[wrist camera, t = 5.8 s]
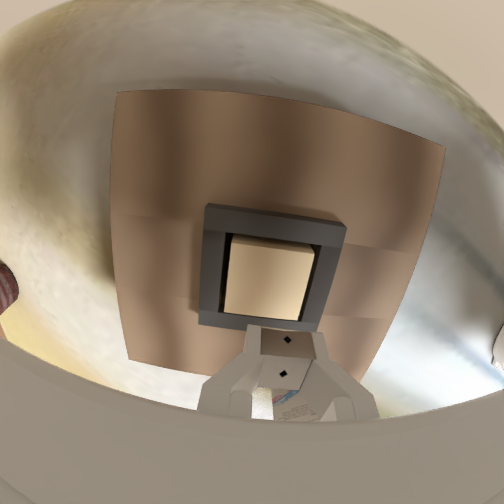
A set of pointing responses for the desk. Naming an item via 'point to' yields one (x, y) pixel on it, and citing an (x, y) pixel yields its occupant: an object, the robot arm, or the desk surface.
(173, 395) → the desk surface
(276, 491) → the robot arm
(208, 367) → the sleeve block
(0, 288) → the can
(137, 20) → the desk surface
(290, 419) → the ink box
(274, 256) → the peg
